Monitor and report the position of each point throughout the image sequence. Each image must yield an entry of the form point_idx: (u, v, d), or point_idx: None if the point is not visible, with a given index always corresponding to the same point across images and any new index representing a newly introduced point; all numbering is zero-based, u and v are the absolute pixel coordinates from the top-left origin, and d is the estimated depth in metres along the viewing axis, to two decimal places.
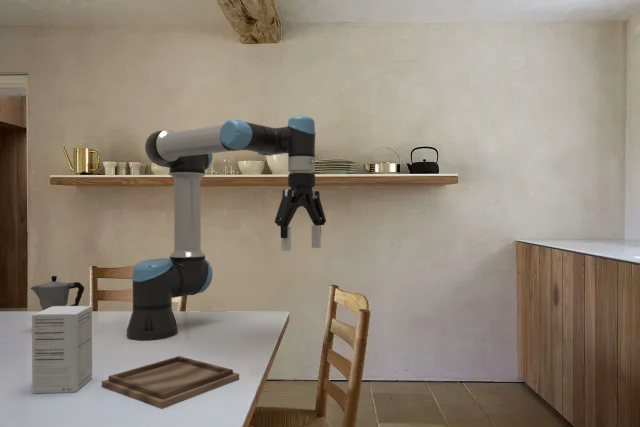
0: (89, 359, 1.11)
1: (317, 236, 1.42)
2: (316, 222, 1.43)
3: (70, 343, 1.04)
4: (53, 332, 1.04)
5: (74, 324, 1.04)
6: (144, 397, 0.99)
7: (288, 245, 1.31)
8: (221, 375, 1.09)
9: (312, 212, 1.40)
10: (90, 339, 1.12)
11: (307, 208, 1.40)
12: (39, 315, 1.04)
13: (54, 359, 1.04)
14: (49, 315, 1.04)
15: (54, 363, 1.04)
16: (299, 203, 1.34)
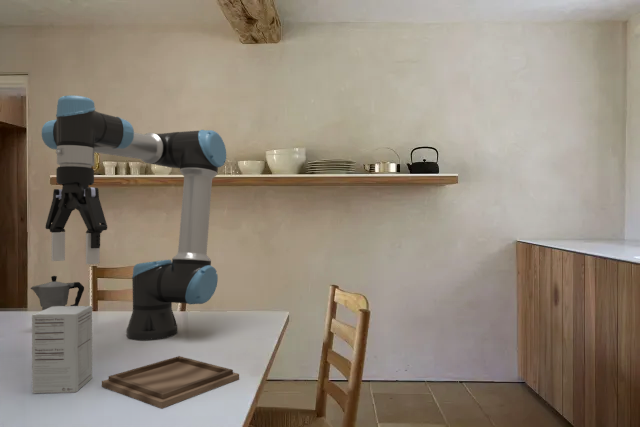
0: (89, 359, 1.11)
1: None
2: None
3: (70, 343, 1.04)
4: (53, 332, 1.04)
5: (74, 325, 1.04)
6: (144, 397, 0.99)
7: None
8: (221, 375, 1.09)
9: None
10: (90, 339, 1.12)
11: None
12: (39, 315, 1.04)
13: (54, 359, 1.04)
14: (49, 315, 1.04)
15: (54, 363, 1.04)
16: (59, 205, 1.10)
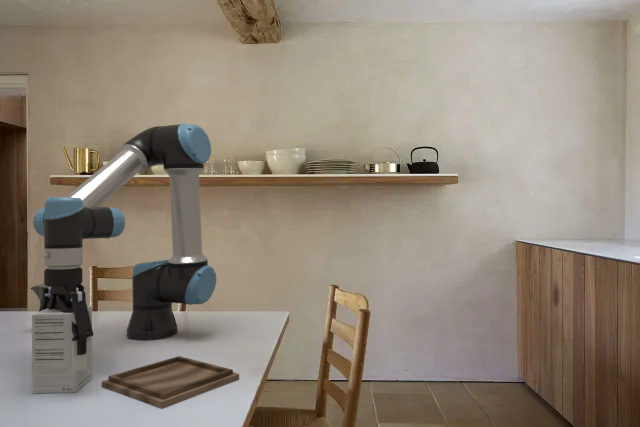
0: (89, 359, 1.11)
1: None
2: None
3: (70, 343, 1.04)
4: (53, 332, 1.04)
5: None
6: (144, 397, 0.99)
7: None
8: (221, 375, 1.09)
9: None
10: (90, 339, 1.12)
11: None
12: (39, 315, 1.04)
13: (54, 359, 1.04)
14: (49, 315, 1.04)
15: (54, 363, 1.04)
16: (48, 305, 1.09)
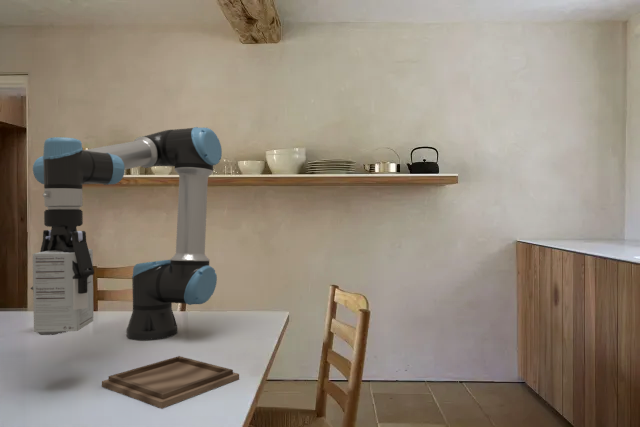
0: (90, 302, 1.11)
1: None
2: None
3: (71, 282, 1.04)
4: (53, 271, 1.04)
5: None
6: (144, 397, 0.99)
7: None
8: (221, 375, 1.09)
9: None
10: (91, 282, 1.12)
11: None
12: (39, 254, 1.04)
13: (55, 298, 1.04)
14: (49, 254, 1.04)
15: (55, 302, 1.04)
16: (49, 247, 1.09)
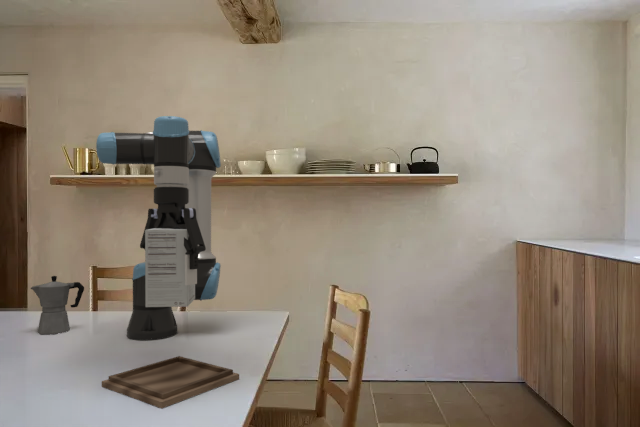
0: None
1: None
2: None
3: (182, 258, 1.06)
4: (165, 247, 1.05)
5: None
6: (144, 397, 0.99)
7: None
8: (221, 375, 1.09)
9: None
10: None
11: None
12: (152, 230, 1.05)
13: (167, 273, 1.05)
14: (161, 230, 1.05)
15: (167, 277, 1.05)
16: (156, 225, 1.11)
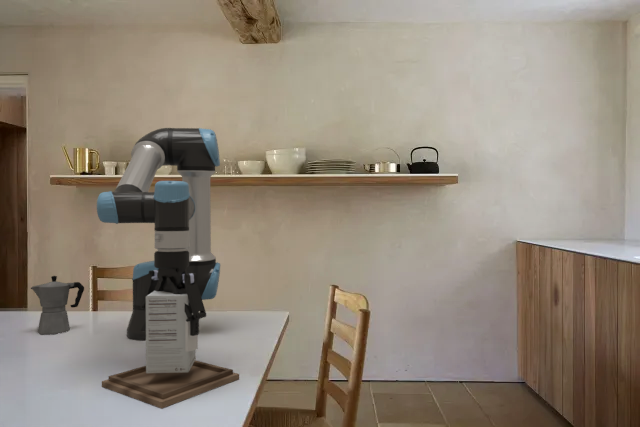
0: None
1: None
2: None
3: (182, 324, 1.06)
4: (166, 313, 1.05)
5: None
6: (144, 397, 0.99)
7: None
8: (221, 375, 1.09)
9: None
10: None
11: None
12: (152, 296, 1.05)
13: (167, 339, 1.05)
14: (162, 296, 1.05)
15: (167, 343, 1.05)
16: (156, 288, 1.11)
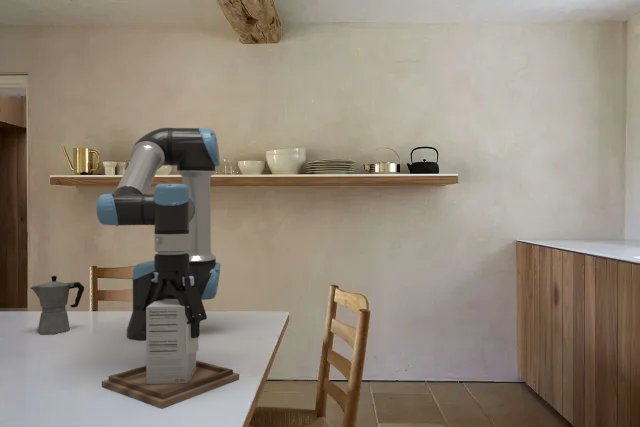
0: None
1: None
2: None
3: (183, 335, 1.06)
4: (166, 324, 1.05)
5: (186, 317, 1.06)
6: (144, 397, 0.99)
7: None
8: (221, 375, 1.09)
9: None
10: None
11: None
12: (153, 307, 1.05)
13: (168, 350, 1.05)
14: (162, 307, 1.06)
15: (168, 355, 1.05)
16: (156, 290, 1.11)
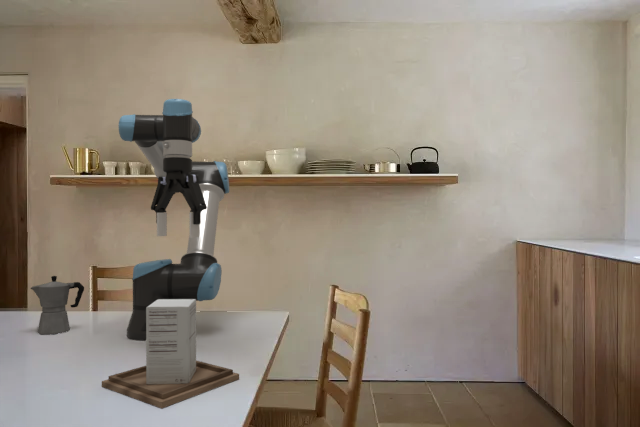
0: (194, 352, 1.13)
1: None
2: None
3: (183, 335, 1.06)
4: (166, 324, 1.05)
5: (186, 317, 1.06)
6: (144, 397, 0.99)
7: None
8: (221, 375, 1.09)
9: None
10: (195, 332, 1.14)
11: None
12: (153, 307, 1.05)
13: (167, 350, 1.05)
14: (162, 307, 1.05)
15: (168, 355, 1.05)
16: (164, 189, 1.33)
